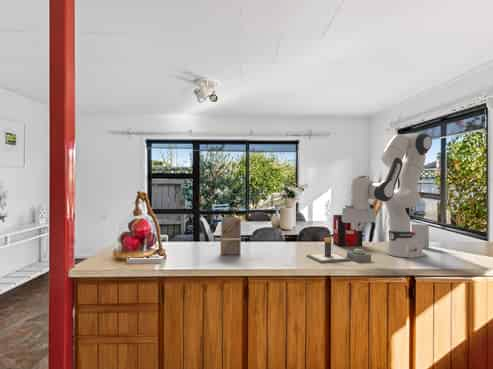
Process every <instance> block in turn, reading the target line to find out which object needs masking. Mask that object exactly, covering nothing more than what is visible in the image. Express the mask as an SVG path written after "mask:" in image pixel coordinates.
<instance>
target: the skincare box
mask: <svg viewBox="0 0 493 369" xmlns="http://www.w3.org/2000/svg"><path fill="white" fill-rule="evenodd" d="M429 226H430V225H429V223H423V222H420V223H419V222H415V223H411V232H416V235H412V236H413V238H414V239H415V240H416V241H417V242H419V243H420V244H421V246H422V250H423V249H424V250H425V249H429V248H430V232H429V231H430V230H429Z"/></svg>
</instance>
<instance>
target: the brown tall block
mask: <svg viewBox="0 0 493 369" xmlns="http://www.w3.org/2000/svg"><path fill="white" fill-rule="evenodd" d="M235 214H236V213H235V211H234V212H233V217H221V218H220V220H221V221H220V223H221V224H220V256H223V255H239V256H240V257H241V248H242V244H241V243H242V240H241V239H242V234H241V233H242V218H241V217H236V215H235Z"/></svg>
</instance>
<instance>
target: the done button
mask: <svg viewBox="0 0 493 369" xmlns="http://www.w3.org/2000/svg"><path fill="white" fill-rule="evenodd" d="M353 252H354V254H356V255H362V254H363V252H364V249H362V248H354V251H353Z"/></svg>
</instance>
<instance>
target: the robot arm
mask: <svg viewBox="0 0 493 369" xmlns="http://www.w3.org/2000/svg"><path fill="white" fill-rule="evenodd" d="M432 145H433V139H432V137H431V136H430V134H428V133H422V132H421V133H418V132H411V133H399V134H395V135H394V136H393V137H391V139H390V140H389V141H388V143H387V144H386V146H385V147H384V149H383V151H382V154H381V157H380V159H381V161H382V163H383V164H384V165H385V166H387V167H388V171H387V173H386V176H385V178H384V180H383V181H381V182H379V181H378V182H377V181H373V180H371V179H370V178H368V176H367V175H358V176H354V177H353V178H352V180H351V187H350V192H351V199H350V205H344V206H343V207H342V213H341V215H342V222H344V223H354V226H355V227H356V231H362V232H363V228H364V226H365V223H376V221H377V211H376V208H377V205H376V204H373V203H371V202H369V200H372V201H373V200H375V201H380V202H383V203H384V204H385V206H386V209H387V212H388V215H389V216H388V217H389V230H388V239H389V240H388V246H387V251H386V255H389V256H393V257H399V258H409V259H413V258H419V257H425V256H427V255H428V254H427V253H426V252H424V251H423V248H422V246H421V244H420V243H419V242H417V241H416V240H415V239H414V238H413V236H412V235H416V232H412V230H411V217H410V216H409V214H408V213H407V211H406V208H407V209H410V208H415V207H417V206H419V204H420V202H421V195H420V192H419V191H418V183H419V180H420V178H421V175H422V172H423V169H424V167H425V164H426V163H425V162H426V154H427V153H428V151H429V150H430V149H431V148H432ZM406 154H407V155H406ZM405 155H406V156H405ZM404 158H405V159H404ZM403 159H404V160H403ZM398 180H399V182H400V184H399V187H398V188H397V187H396V185H397V183H398ZM358 223H359V224H360V226H359V227H358Z"/></svg>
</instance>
